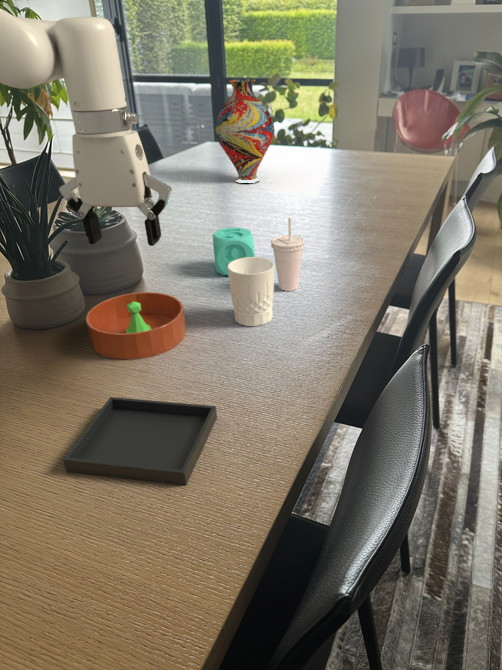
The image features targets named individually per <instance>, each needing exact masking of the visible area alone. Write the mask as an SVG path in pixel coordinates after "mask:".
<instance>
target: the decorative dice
mask: <svg viewBox="0 0 502 670" xmlns="http://www.w3.org/2000/svg"><path fill="white" fill-rule="evenodd" d="M212 245H213V256H214V264H215V270H216V273H218V274H219V273H220V274H219V275H221V274H222V275H221V276H224V275H227V276H226V277H229V274H228V264H229V263H230V262H232V261H234V260H237V259H240V258H246V257H256V253H255V242H254V237H253V233H252V231H250V229H248V228H244V227H225V228H221V229H218V230H216V231H215V232H214V233H213V234H212Z"/></svg>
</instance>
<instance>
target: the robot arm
mask: <svg viewBox="0 0 502 670" xmlns="http://www.w3.org/2000/svg"><path fill="white" fill-rule="evenodd" d="M118 49H119V48H118V44H117V38H116V33H115V29H114V26H113V24H112V23H111V22H110V20H108V19H107V18H105V17H101V16H75V17H63V18H60V19H58V20H46V19H37V18H31V17H23V16H15V15H13V14H11V13H9V12H7V11H6V10H4V9H2V8H0V84H2V85H5V86H7V87H10V88H15V89H19V90H25V89H26V90H27V89H31V88H34V87H37V86H40V85H42V84H45V83H48V82H52V81H57V80H63V81H64V85H65V90H66V94H67V100H68V104H69V109H70V113H71V117H72V122H73V128H74V131H75V133H74V134H72V138H71V139H72V140H71V143H72V145H71V147H72V163H73V168H74V170H73V171H74V176H75V177H73V178H71V179H70V180H69V181H66V182H65V183H64V184H63V185H61V186H60V187H59V188H58V190H59V193H60V194H61V195H62V197H63V198H64V200H65V201H67V205H68V207H70V209H72V210H73V211H74V212H75V213H76V214H77V217H78V218H79V219H81V220H82V223H83V228H84V232H85V236H86V237H87V239H88V243H89V245H94V244H96V243H98V242H99V241H100V240H101V239H102V238H103V234H102V229H101V225H100V220H99V216H98V214H97V212H94V211H95V209H96V207H98V208H137V209H138V210H140V212H141V213H142V214H143V215H144V216H145V217H146V219H144V227H145V234H146V240H147V245H148V246H150V247H154V246H155V245H156V244H157V243H158V242H159V241H160V238H162V230H161V224H160V217H159V215H161V213H162V212H163V210H164V209H165V208H166V207H167V205H168V203H169V200H170V197H171V194H172V190H173V188H172V187H171V186H170V185H168V184H167V183H165V182H164V181H161V180H159V179H158V178H156V177H153V176H151V173H150V168H149V164H148V159H147V157H146V152H145V150H144V146H143V144H142V140H141V138H140V135H139V133H138V131H137V130H132V127H133V125H135V124H137V125H138V123H139V116H138V114H137V112H131V111H130V107H129V106H128V104H127V97H126V93H125V86H124V79H123V73H122V68H121V61H120V57H119V56H120V55H119V50H118ZM76 189H77V191H78V195H79V197H78V196H77V195H76V193H75V190H76ZM154 191H155V192H156V193H158V198H157V201H156V202H155V201H154V200H153V199H152V198H153V196H154Z"/></svg>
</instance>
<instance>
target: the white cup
mask: <svg viewBox="0 0 502 670" xmlns="http://www.w3.org/2000/svg"><path fill="white" fill-rule="evenodd" d="M228 274H229V276H228V281H229V290H230V297H231V303H232V307H233V313H234V320H235V322H236V323H238V324H239V325H242V326H245V327H258V326H263V325H266V324H268V323H270V322H271V320H272V319H273V305H274V291H275V262H273V261H272V260H271V259H268V258H265V257H259V256H255V257H246V258H240V259H237V260H234V261H232V262H230V263H229V264H228Z"/></svg>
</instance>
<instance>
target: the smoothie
mask: <svg viewBox="0 0 502 670" xmlns="http://www.w3.org/2000/svg"><path fill="white" fill-rule="evenodd" d="M292 226H293V225H292V217H288V235H279V236H276V237H273V238H272V239H271V241H270V243H271V244H270V247H271V248H272V250H273V251H272V252H273V258H274V265H275V269H276V277H277V283H278V289H279V288H280V289H281V290H280V289H279V290H280V291H282V290H285V291H284V292H287V291H290V292H293V291H292V290H295V289H297V288H299V280H300V273H301V264H302V256H303V248H304V247H305V239H304V238H303V237H300V236H299V235H293V234H292V231H293V229H292ZM297 290H298V289H297ZM295 291H296V290H295Z"/></svg>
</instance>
